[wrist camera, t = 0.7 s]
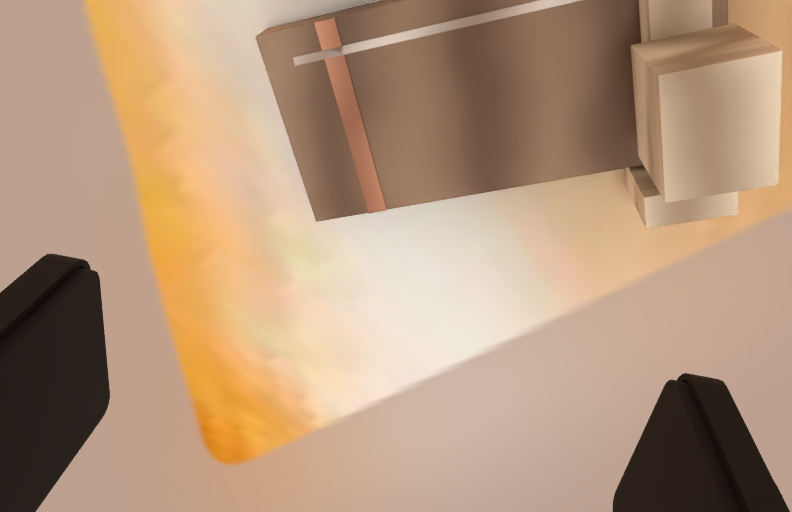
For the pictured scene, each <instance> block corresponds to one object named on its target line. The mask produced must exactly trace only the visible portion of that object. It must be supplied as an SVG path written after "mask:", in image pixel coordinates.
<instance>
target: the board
mask: <svg viewBox="0 0 792 512" xmlns="http://www.w3.org/2000/svg"><path fill="white" fill-rule="evenodd" d="M724 25H728V0H712V28H714V27H719V26H724ZM256 40H257V43H258V46H259V49H260V52H261V55H262V58H263V61H264V64H265V67H266V70H267V73H268V76H269V79H270V82H271V85H272V88H273V91H274V94H275V98H276V101H277V104H278V107H279V110H280V113H281V116H282V119H283V122H284V125H285V128H286V131H287V134H288V137H289V140H290V143H291V146H292V149H293V152H294V155H295V158H296V161H297V164H298V167H299V170H300V174H301V177H302V180H303V183H304V186H305V189H306V192H307V195H308V198H309V201H310V204H311V207H312V210H313V213H314V216H315V219H316V222H317V221H323V220H329V219H334V218H340V217H346V216H352V215H357V214H363V213H373V212H379V211H385V210H387V209H392V208H398V207H404V206H409V205H415V204H421V203H427V202H432V201H438V200H444V199H450V198H456V197H461V196H467V195H473V194H479V193H484V192H490V191H496V190H502V189H507V188H513V187H519V186H525V185H530V184H536V183H542V182H548V181H554V180H559V179H565V178H571V177H577V176H582V175H588V174H594V173H600V172H605V171H611V170H617V169H623V168H629V167H634V166H640V165H643V163H642V161H641V160H640V158H639V155H638V141H637V127H636V113H635V100H634V86H633V72H632V58H631V45H634V44H639V43H641V30H640V15H639V0H383V1H379V2H375V3H371V4H367V5H363V6H359V7H355V8H350V9H346V10H342V11H338V12H334V13H330V14H326V15H322V16H318V17H313V18H309V19H305V20H301V21H297V22H293V23H289V24H285V25H281V26H276V27H272V28H268V29H266V30H265V31H263V32H262V33H260V34H259V35H257V36H256Z"/></svg>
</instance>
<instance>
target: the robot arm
mask: <svg viewBox="0 0 792 512" xmlns="http://www.w3.org/2000/svg"><path fill="white" fill-rule="evenodd" d="M109 398H110V391H109V380H108V369H107V357H106V346H105V335H104V323H103V312H102V301H101V289H100V279H99V275H98V273H97V272H96V271H93V270H91V269H90V266H89V264H88V262H87V261H85V260H83V259H78V258H72V257H67V256H61V255H56V254H47V255H45V256H44V257H42V258H41V259H40V260H39V261H37V262H36V263H35V264H34V265H33V266H31V267H30V268H29V269H28V270H27V271H26V272H24V273H23V274H22V275H21V276H20V277H18V278H17V279H16V280H15V281H14V282H13V283H11V284H10V285H9V286H8V287H7V288H5V289H4V290H3V291H2V292H1V293H0V512H36V510H37V509H38V507H39V506H40V505H41V503H42V502H43V500H44V499H45V497H46V496H47V495H48V493H49V492H50V490H51V489H52V488H53V486H54V485H55V484H56V482H57V481H58V479H59V478H60V476H61V475H62V474H63V472H64V471H65V470H66V468H67V467H68V465H69V464H70V462H71V461H72V460H73V458H74V457H75V455H76V454H77V453H78V451H79V450H80V448H81V447H82V445H83V444H84V443H85V441H86V440H87V439H88V437H89V436H90V434H91V433H92V432H93V430H94V429H95V427H96V426H97V424H98V423H99V422H100V420H101V419H102V417H103V416H104V414H105V412H106V410H107V407H108V404H109ZM613 512H790V511H789V509H788V507H787V505H786V503H785V501H784V499H783V497H782V495H781V493H780V492H779V489H778V487H777V485H776V484H775V482H774V481H773V479H772V477H771V475H770V473H769V471H768V469H767V467H766V465H765V463H764V461H763V459H762V457H761V455H760V453H759V451H758V449H757V446H756V444H755V442H754V441H753V438H752V436H751V434H750V432H749V430H748V428H747V426H746V424H745V423H744V420H743V418H742V417H741V415H740V412H739V410H738V408H737V406H736V404H735V402H734V400H733V398H732V396H731V394H730V392H729V390H728V388H727V386H726V385H725V384H724V382H723V381H721V380H719V379H714V378H709V377H703V376H698V375H693V374H687V373H685V374H682V375H681V376H680V377H679V378H678V379H677V381H676V380H669V381H668V382H667V383H666V384H665V386H664V388H663V390H662V392H661V394H660V397H659V399H658V401H657V403H656V405H655V407H654V410H653V412H652V414H651V416H650V418H649V420H648V423H647V425H646V427H645V429H644V431H643V433H642V436H641V438H640V440H639V442H638V444H637V446H636V448H635V451H634V453H633V455H632V457H631V459H630V461H629V464H628V466H627V468H626V470H625V472H624V475H623V477H622V479H621V481H620V483H619V485H618V488H617V490H616V492H615V495H614V500H613Z"/></svg>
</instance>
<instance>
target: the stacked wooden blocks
mask: <svg viewBox="0 0 792 512" xmlns="http://www.w3.org/2000/svg"><path fill="white" fill-rule="evenodd" d="M639 15H640V30H641V43H639V44H634V45H631V58H632V72H633V86H634V100H635V113H636V127H637V141H638V155H639V158H640V160H641V161H642V163H643V165H640V166H634V167H629V168H625V171H626V183H627V189H628V191H629V194H630V196H631V198H632V200H633V202H634V204H635V206H636V208H637V210H638V212H639V215H640V217H641V219H642V221H643V223H644V225H645V227H646V228H653V227H659V226H666V225H672V224H679V223H685V222H692V221H698V220H705V219H711V218H718V217H724V216H731V215H737V214H738V191H743V190H749V189H755V188H762V187H768V186H774V185H778V173H779V142H780V111H781V81H782V50H780V49H778V48H777V47H775V46H773V45H771V44H770V43H768V42H766V41H764V40H762V39H761V38H759V37H757V36H755V35H753V34H752V33H750V32H748V31H746V30H744V29H743V28H741V27H739V26H737V25H736V24H734V23H733V24H729V25H724V26H719V27H714V28H712V0H639Z"/></svg>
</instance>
